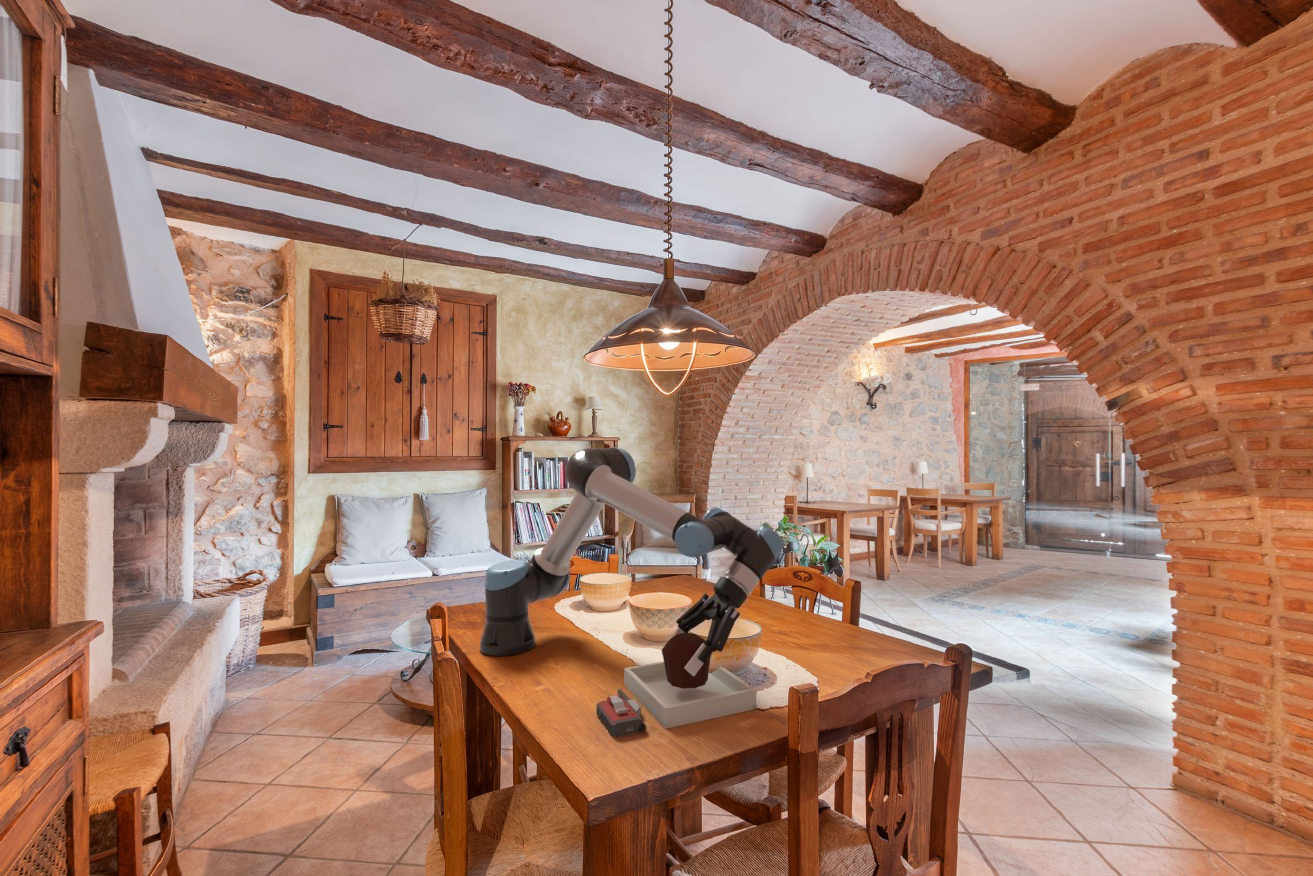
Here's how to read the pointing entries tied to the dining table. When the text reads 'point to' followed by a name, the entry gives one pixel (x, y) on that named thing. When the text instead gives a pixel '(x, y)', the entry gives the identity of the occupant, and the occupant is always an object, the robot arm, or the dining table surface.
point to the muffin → (684, 661)
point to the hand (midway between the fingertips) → (676, 663)
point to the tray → (688, 695)
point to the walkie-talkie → (620, 715)
